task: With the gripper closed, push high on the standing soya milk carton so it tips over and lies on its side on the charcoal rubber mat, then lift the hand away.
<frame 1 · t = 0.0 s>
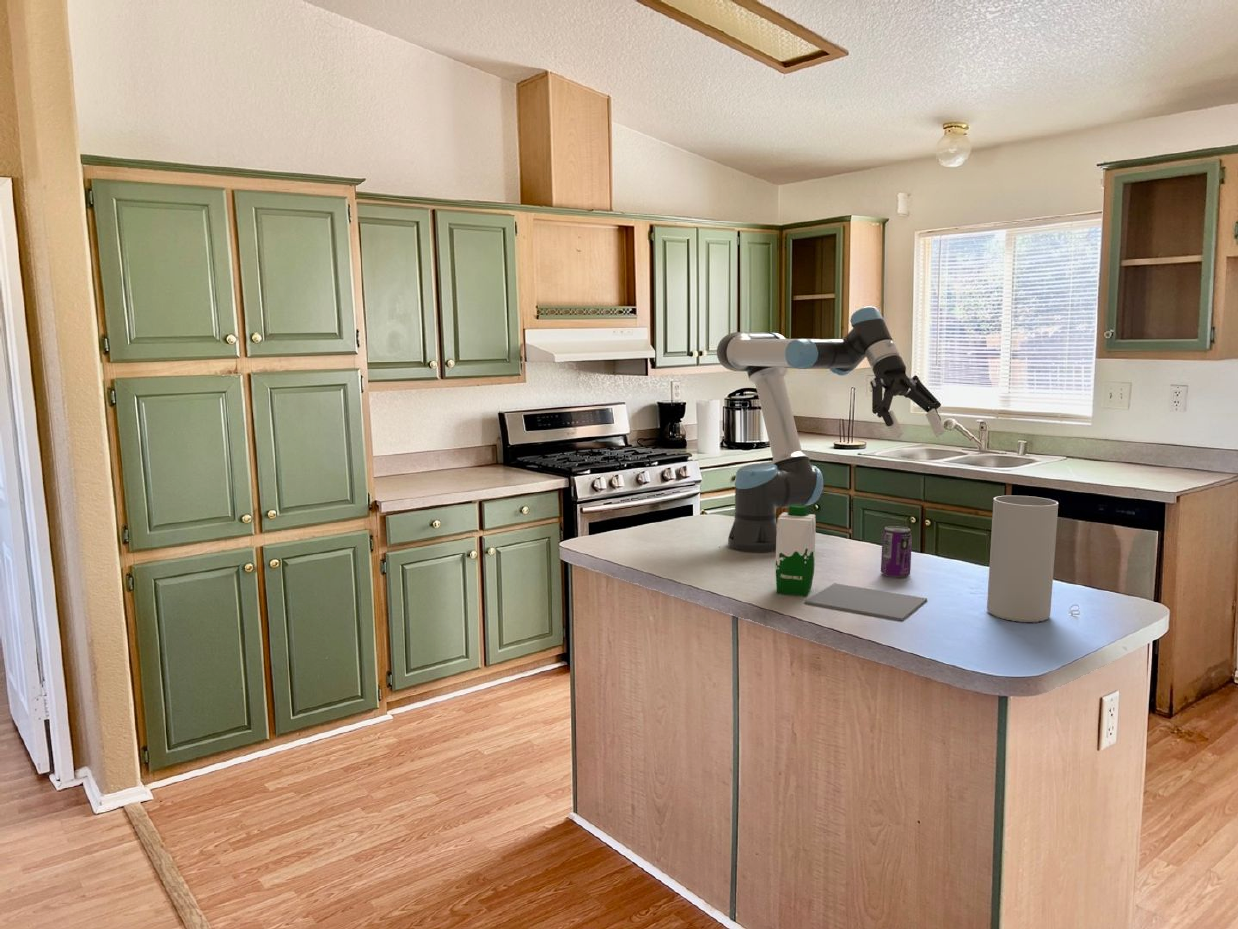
hand: (920, 435, 214), 36 cm above the counter, tool tilted 35°, fingers open, 13 cm apart
soya milk: (794, 592, 210), on the counter
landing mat: (866, 602, 202), on the counter
beverage can: (895, 576, 225), on the counter
cylinder vase: (1017, 615, 193), on the counter
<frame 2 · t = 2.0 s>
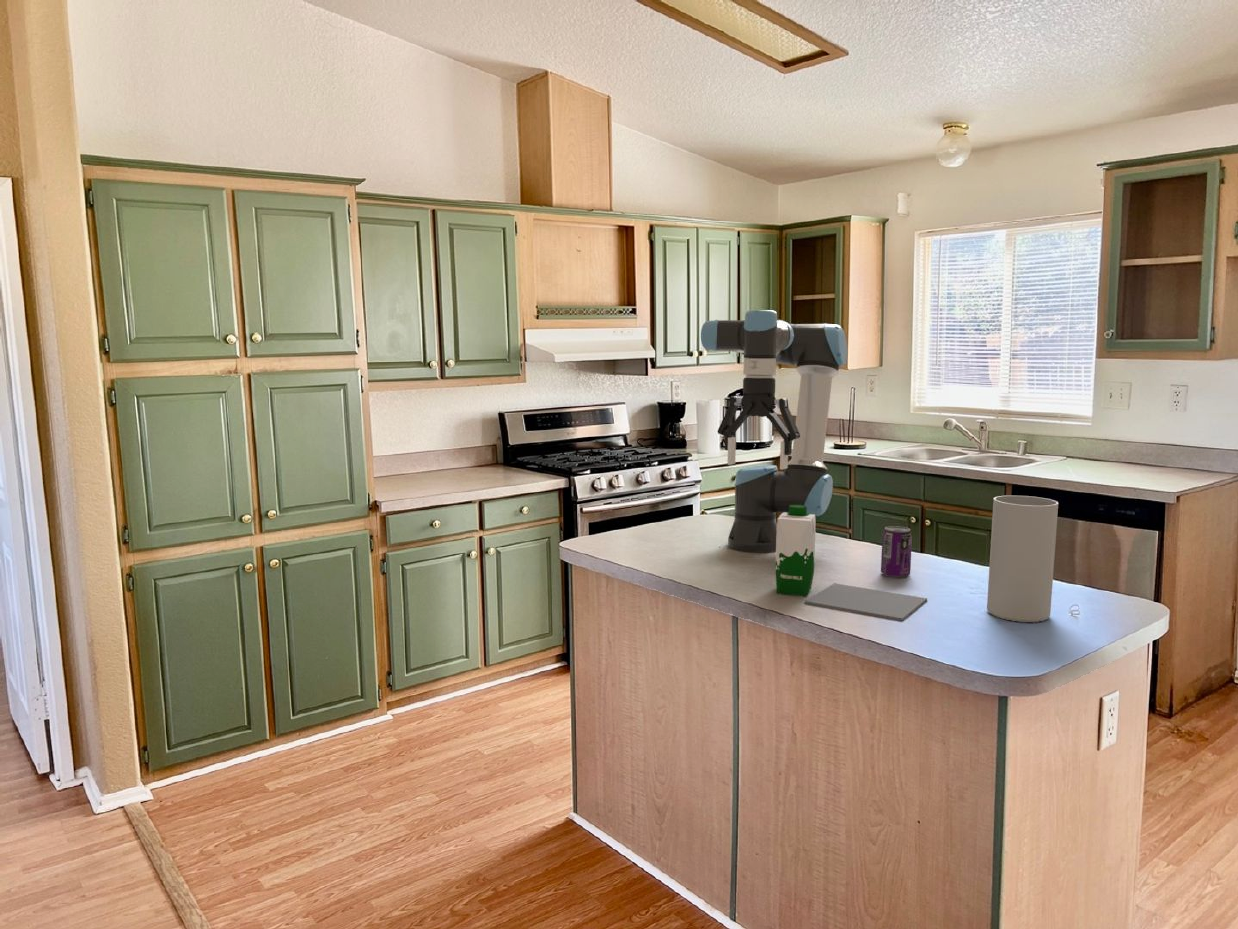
hand: (757, 466, 212), 29 cm above the counter, tool pointing down, fingers open, 13 cm apart
nothing on the counter moved.
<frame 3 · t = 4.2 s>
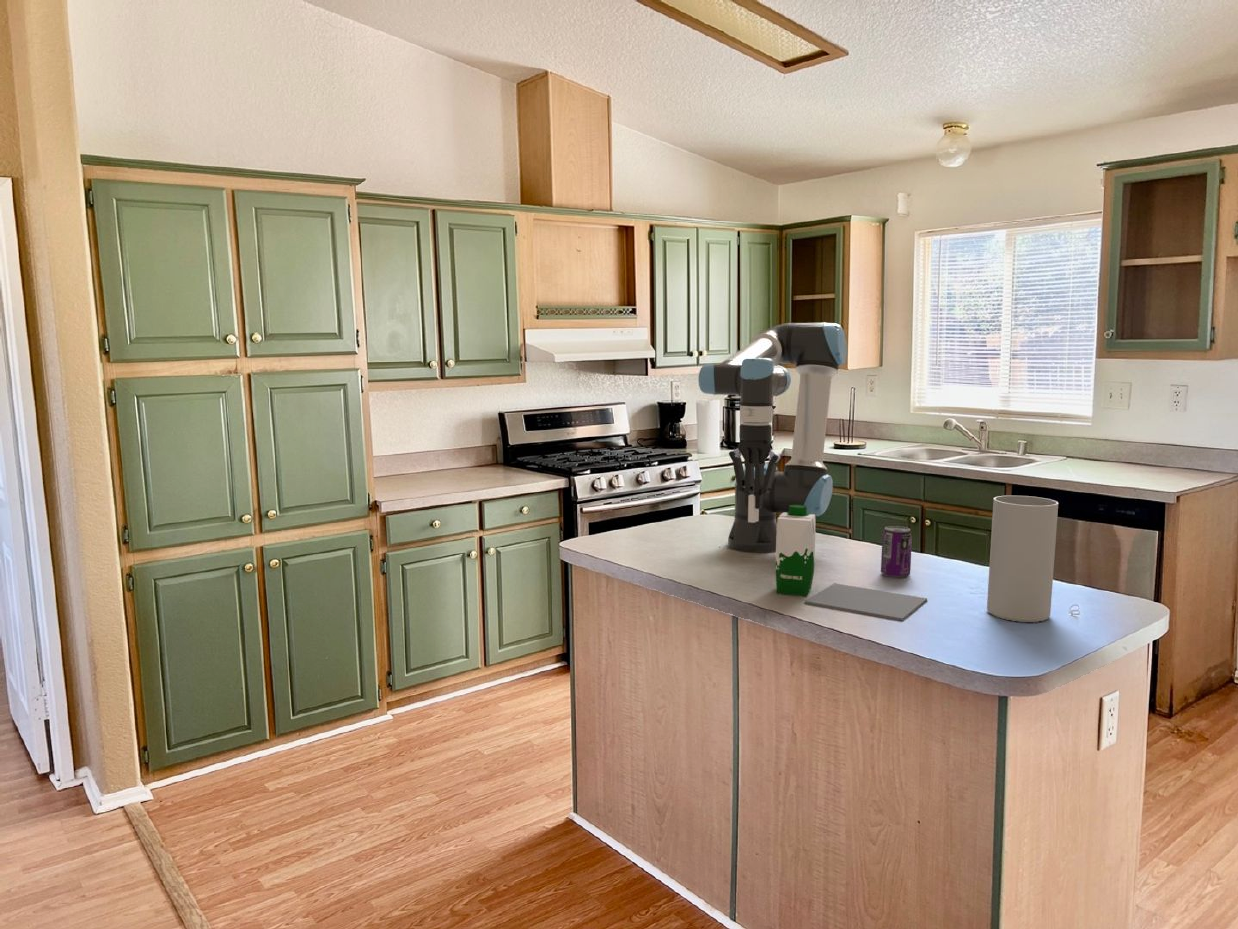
hand: (753, 521, 214), 15 cm above the counter, tool pointing down, fingers closed
nothing on the counter moved.
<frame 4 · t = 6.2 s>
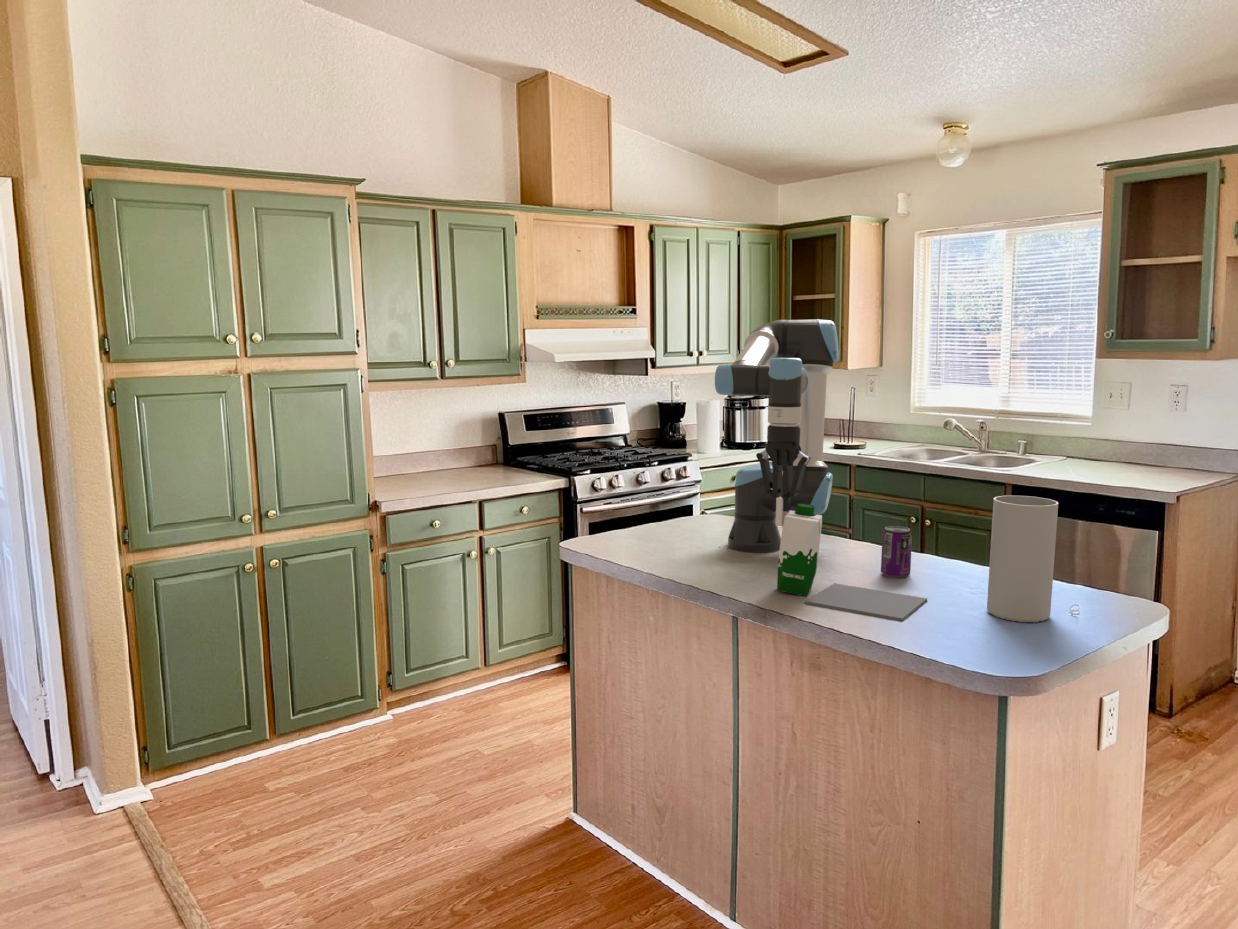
hand: (781, 524, 210), 16 cm above the counter, tool pointing down, fingers closed
soya milk: (794, 590, 210), on the counter, touching gripper
everything else where it was.
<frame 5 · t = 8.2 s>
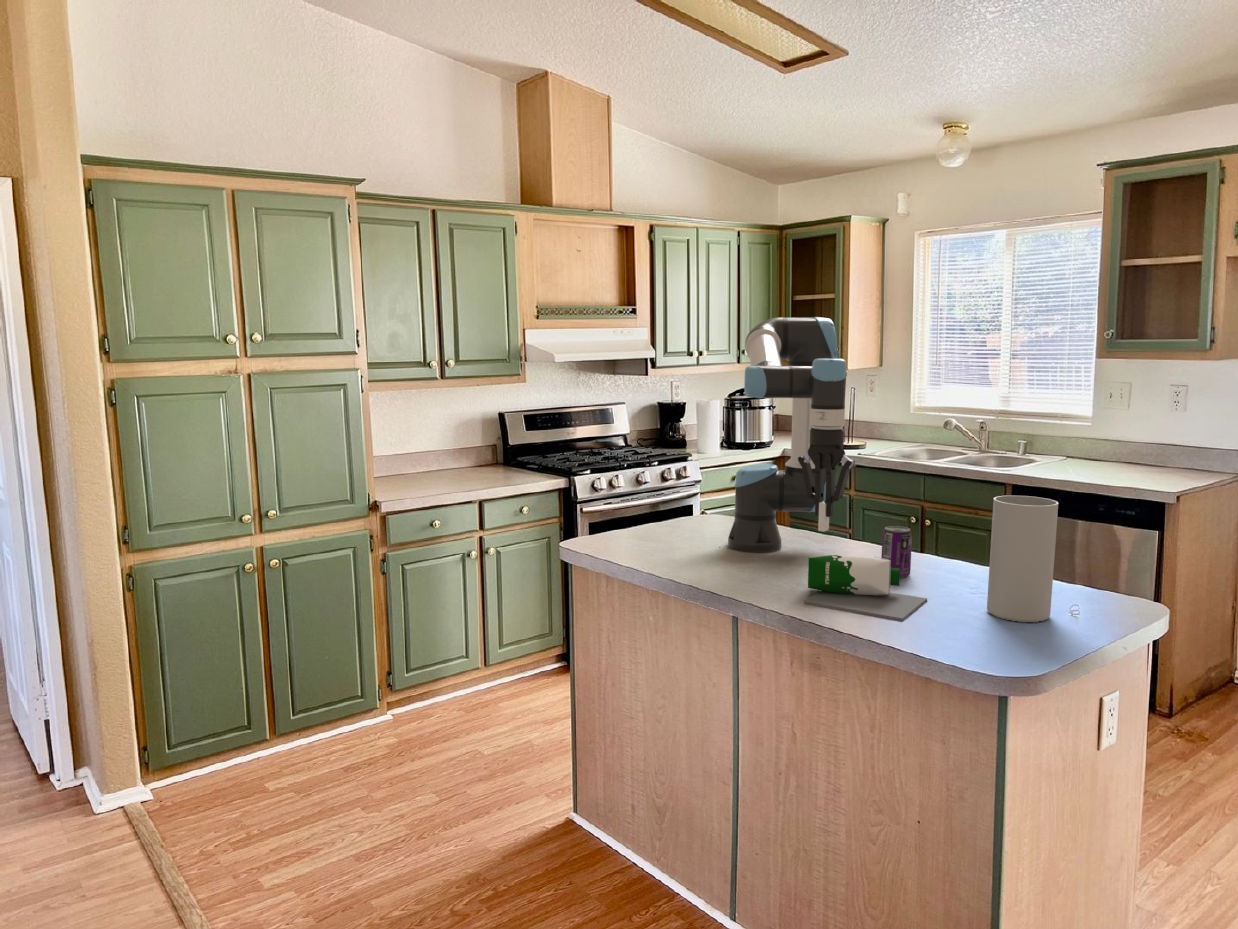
hand: (823, 530, 204), 16 cm above the counter, tool pointing down, fingers closed
soya milk: (808, 572, 209), point 5 cm above the counter, touching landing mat
everything else where it was.
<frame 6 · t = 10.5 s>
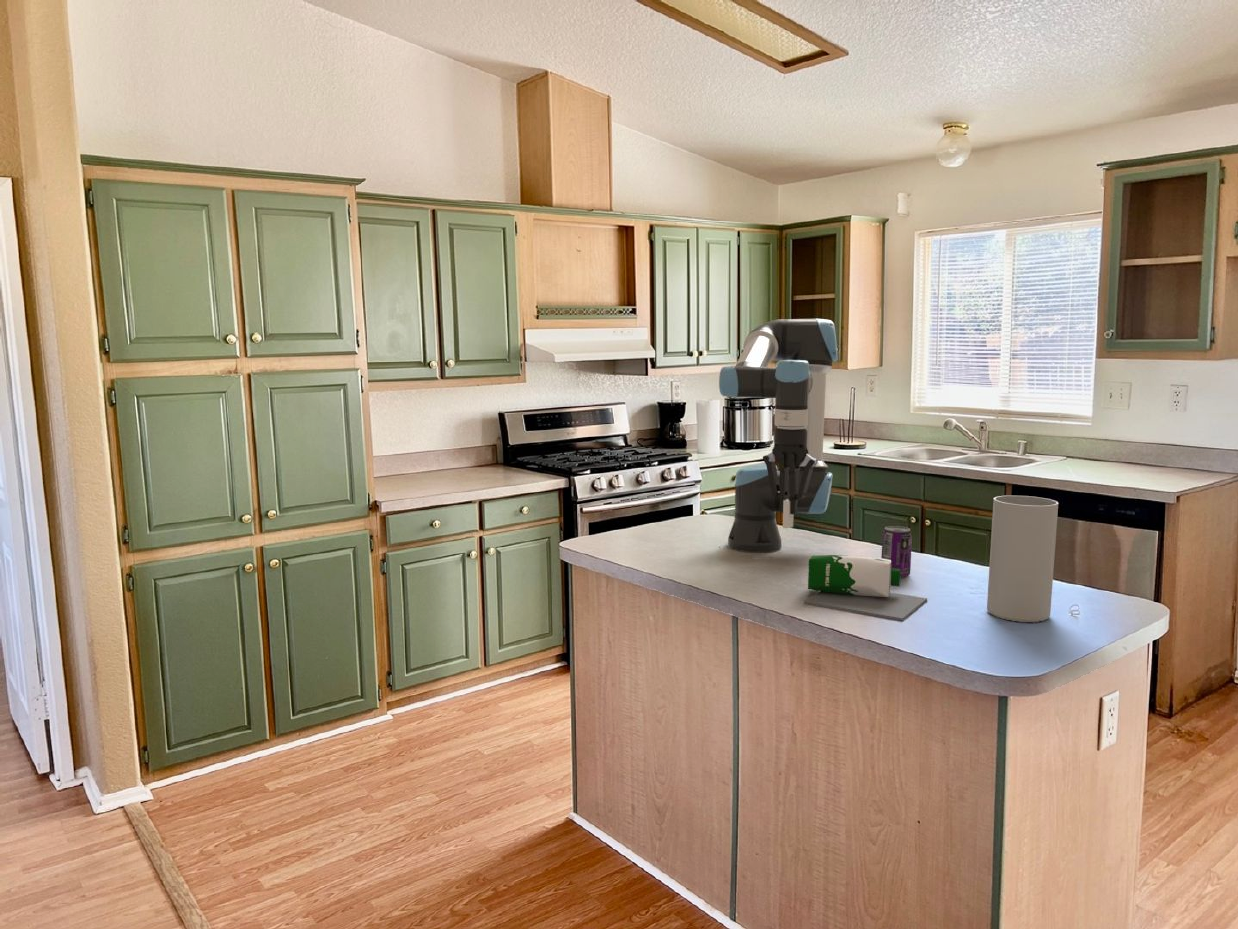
hand: (787, 527, 210), 15 cm above the counter, tool pointing down, fingers closed
nothing on the counter moved.
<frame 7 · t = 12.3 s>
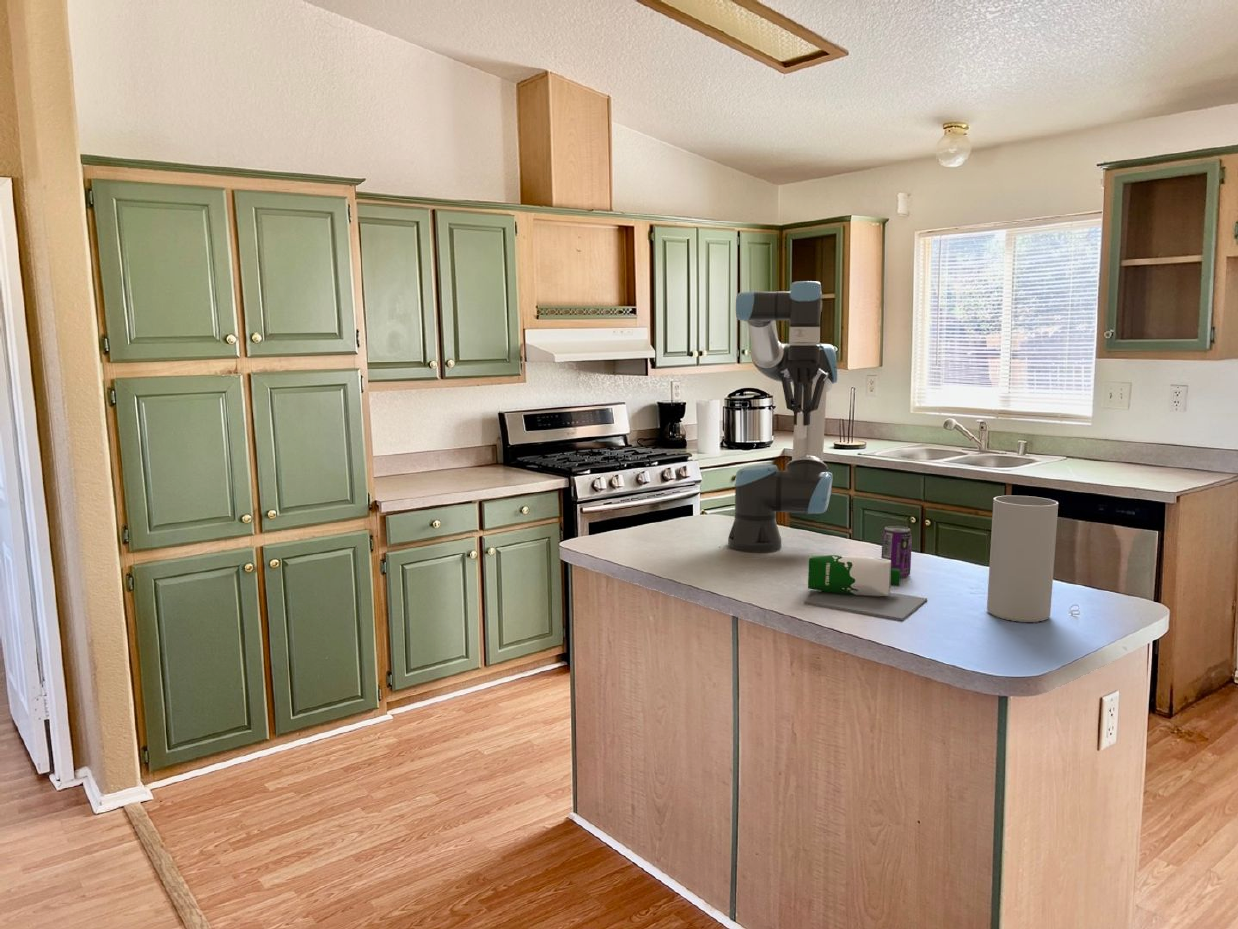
hand: (801, 438, 227), 34 cm above the counter, tool pointing down, fingers closed
nothing on the counter moved.
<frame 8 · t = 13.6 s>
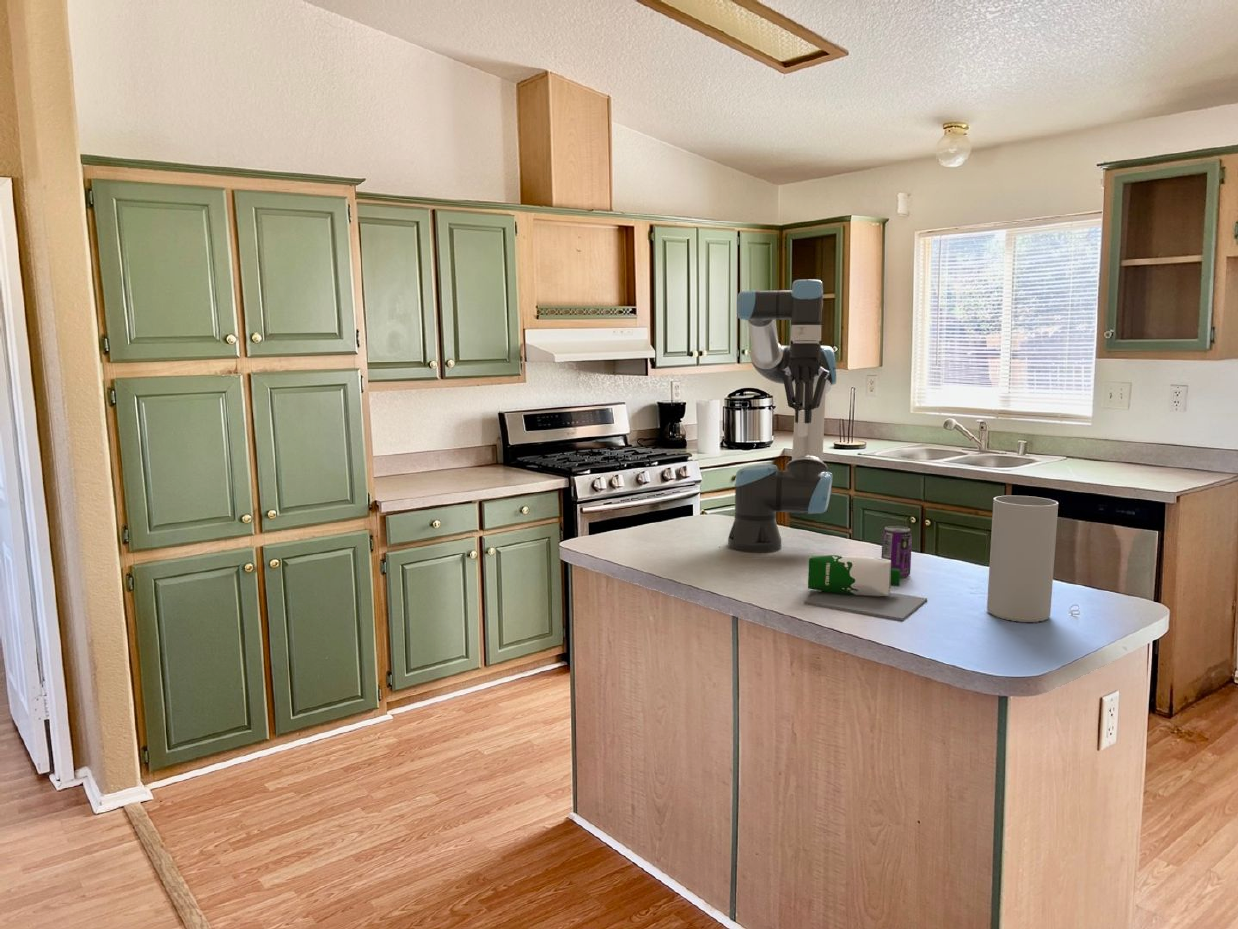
hand: (802, 435, 227), 34 cm above the counter, tool pointing down, fingers closed
nothing on the counter moved.
at the end: soya milk tilted 89°; soya milk touching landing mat; soya milk inside the target area (5.9 cm from its centre), point 4.8 cm above the counter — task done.
